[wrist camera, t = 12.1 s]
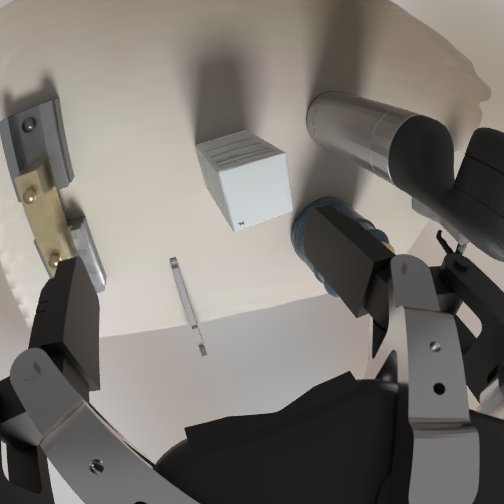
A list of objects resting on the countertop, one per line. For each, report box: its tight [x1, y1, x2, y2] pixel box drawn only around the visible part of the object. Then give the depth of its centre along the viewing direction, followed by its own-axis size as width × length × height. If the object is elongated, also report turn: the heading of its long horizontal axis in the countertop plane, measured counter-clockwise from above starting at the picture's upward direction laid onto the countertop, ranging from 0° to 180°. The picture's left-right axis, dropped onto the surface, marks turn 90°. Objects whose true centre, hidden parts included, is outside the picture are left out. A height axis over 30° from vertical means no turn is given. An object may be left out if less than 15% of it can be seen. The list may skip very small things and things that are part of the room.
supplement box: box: [195, 130, 293, 232], centre depth 34 cm, size 7×7×13 cm
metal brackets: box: [0, 98, 106, 293], centre depth 32 cm, size 8×28×4 cm, turn 1°
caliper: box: [170, 258, 207, 356], centre depth 49 cm, size 20×1×6 cm, turn 5°
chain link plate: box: [14, 158, 77, 277], centre depth 29 cm, size 3×14×6 cm, turn 1°
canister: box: [292, 198, 395, 300], centre depth 46 cm, size 13×13×18 cm
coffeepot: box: [412, 197, 470, 255], centre depth 52 cm, size 15×9×18 cm, turn 174°
